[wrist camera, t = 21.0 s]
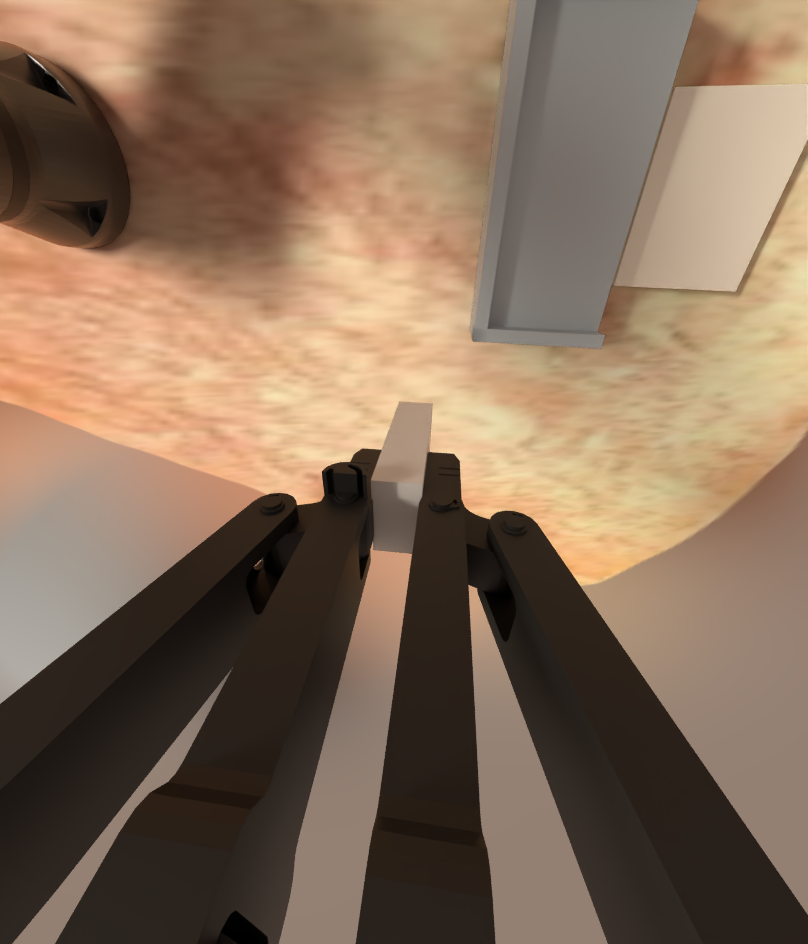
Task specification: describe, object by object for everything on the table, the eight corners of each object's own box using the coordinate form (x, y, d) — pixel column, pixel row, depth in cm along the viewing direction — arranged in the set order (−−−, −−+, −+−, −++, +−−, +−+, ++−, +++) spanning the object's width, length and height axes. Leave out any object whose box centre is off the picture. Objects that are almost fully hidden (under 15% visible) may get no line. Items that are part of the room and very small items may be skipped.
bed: (469, 329, 40) (472, 341, 34) (509, 1, 27) (526, -71, 21) (577, 335, 39) (600, 348, 33) (671, -2, 26) (736, -78, 20)
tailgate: (614, 285, 35) (735, 291, 34) (675, 86, 28) (834, 82, 26) (610, 285, 36) (727, 290, 35) (668, 93, 29) (820, 89, 27)
